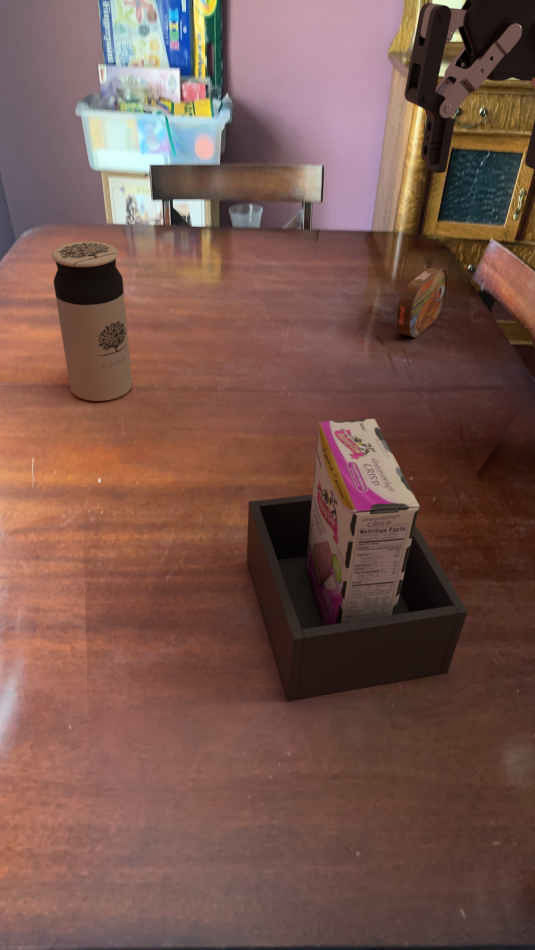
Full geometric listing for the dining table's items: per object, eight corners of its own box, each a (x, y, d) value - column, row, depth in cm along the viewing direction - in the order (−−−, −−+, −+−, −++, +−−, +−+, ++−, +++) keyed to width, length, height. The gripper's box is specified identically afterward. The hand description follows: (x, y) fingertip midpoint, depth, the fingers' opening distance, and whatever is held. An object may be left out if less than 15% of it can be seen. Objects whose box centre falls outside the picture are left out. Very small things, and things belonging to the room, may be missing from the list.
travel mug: (61, 382, 90) (38, 246, 79) (116, 367, 93) (102, 236, 82) (85, 409, 85) (65, 268, 74) (142, 392, 88) (131, 256, 77)
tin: (407, 345, 103) (417, 292, 98) (388, 339, 104) (397, 287, 99) (443, 313, 113) (454, 263, 108) (426, 308, 114) (436, 259, 109)
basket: (380, 543, 67) (391, 484, 63) (447, 672, 55) (468, 611, 51) (246, 561, 64) (248, 501, 60) (287, 701, 52) (293, 639, 48)
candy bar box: (301, 566, 64) (316, 419, 54) (352, 561, 64) (376, 415, 54) (329, 663, 55) (353, 509, 45) (388, 657, 56) (424, 504, 46)
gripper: (469, -117, 38) (420, 185, 48) (683, -104, 41) (595, 179, 51) (416, -109, 44) (382, 159, 54) (607, -98, 47) (541, 155, 57)
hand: (486, 169), depth 52 cm, fingers open, 8 cm apart
